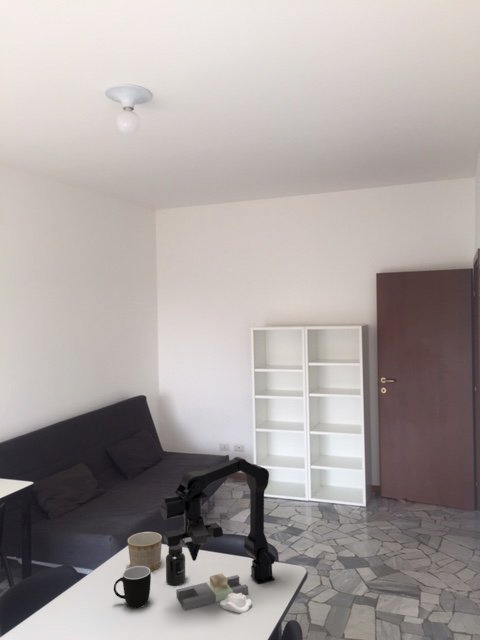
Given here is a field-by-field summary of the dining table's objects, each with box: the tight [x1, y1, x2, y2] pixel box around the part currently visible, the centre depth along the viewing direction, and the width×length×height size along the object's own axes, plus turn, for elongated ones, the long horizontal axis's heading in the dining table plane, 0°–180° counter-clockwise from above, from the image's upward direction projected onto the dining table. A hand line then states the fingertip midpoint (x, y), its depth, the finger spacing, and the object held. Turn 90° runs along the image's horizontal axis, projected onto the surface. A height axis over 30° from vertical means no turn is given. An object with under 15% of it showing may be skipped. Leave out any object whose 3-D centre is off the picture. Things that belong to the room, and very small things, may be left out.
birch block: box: [209, 572, 228, 591], centre depth 177 cm, size 4×4×3 cm
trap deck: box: [175, 574, 249, 611], centre depth 176 cm, size 22×9×2 cm, turn 114°
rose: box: [219, 593, 252, 614], centre depth 169 cm, size 10×4×10 cm
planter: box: [127, 531, 163, 572], centre depth 198 cm, size 13×13×10 cm
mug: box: [113, 566, 152, 609], centre depth 172 cm, size 12×9×10 cm
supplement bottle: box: [165, 544, 186, 586], centre depth 186 cm, size 7×7×12 cm
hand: (194, 560), depth 173 cm, fingers closed
